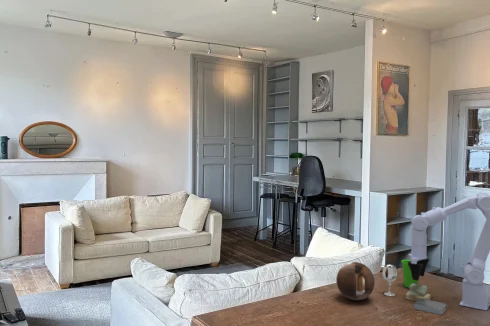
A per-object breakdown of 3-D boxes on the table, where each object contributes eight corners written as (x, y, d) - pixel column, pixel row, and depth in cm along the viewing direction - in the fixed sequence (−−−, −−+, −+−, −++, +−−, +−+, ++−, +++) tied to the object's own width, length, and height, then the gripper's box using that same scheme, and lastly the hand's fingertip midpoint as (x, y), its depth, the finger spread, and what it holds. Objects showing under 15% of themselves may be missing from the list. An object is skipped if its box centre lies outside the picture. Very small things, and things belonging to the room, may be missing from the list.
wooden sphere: (338, 291, 183) (339, 256, 183) (375, 295, 178) (375, 260, 178) (333, 303, 169) (334, 265, 169) (373, 307, 164) (374, 269, 164)
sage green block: (430, 299, 175) (430, 285, 175) (426, 303, 170) (426, 289, 170) (410, 295, 180) (410, 282, 180) (405, 298, 175) (406, 285, 175)
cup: (424, 290, 186) (426, 265, 186) (403, 289, 186) (405, 264, 186) (417, 284, 195) (418, 260, 195) (396, 283, 195) (398, 259, 195)
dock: (446, 308, 164) (447, 303, 164) (441, 314, 158) (442, 309, 157) (419, 303, 170) (419, 298, 170) (413, 308, 164) (413, 303, 164)
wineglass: (387, 297, 177) (388, 268, 176) (379, 292, 182) (380, 264, 182) (399, 296, 178) (400, 267, 178) (391, 291, 184) (391, 264, 183)
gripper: (414, 240, 183) (413, 272, 183) (403, 246, 171) (402, 280, 172) (431, 243, 179) (430, 275, 179) (421, 248, 167) (421, 283, 167)
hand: (418, 277), depth 175 cm, fingers open, 7 cm apart
